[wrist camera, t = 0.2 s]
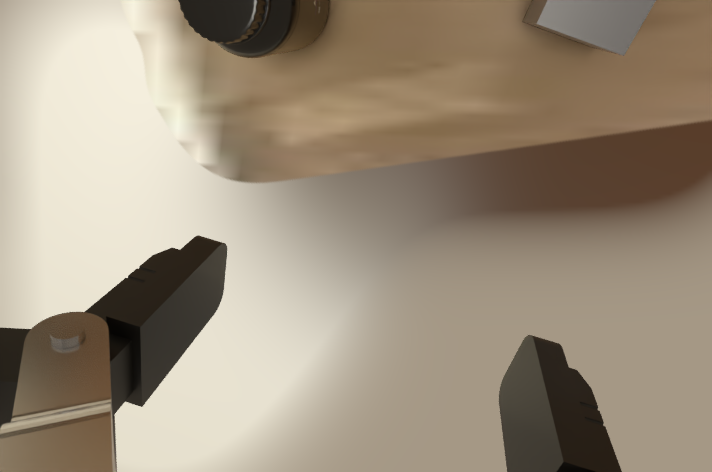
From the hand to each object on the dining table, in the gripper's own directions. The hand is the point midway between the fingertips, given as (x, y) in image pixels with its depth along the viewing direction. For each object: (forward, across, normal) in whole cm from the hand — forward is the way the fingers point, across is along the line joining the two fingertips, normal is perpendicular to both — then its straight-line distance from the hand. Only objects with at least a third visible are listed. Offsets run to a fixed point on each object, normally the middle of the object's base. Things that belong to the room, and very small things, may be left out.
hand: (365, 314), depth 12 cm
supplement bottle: (+28, +12, -5) cm, 31 cm away
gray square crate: (+28, -8, -10) cm, 31 cm away
